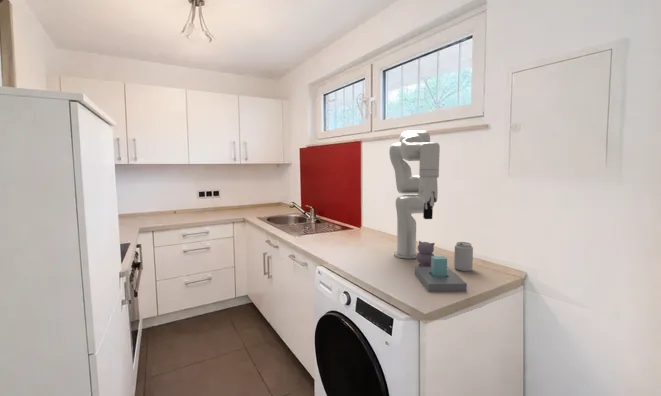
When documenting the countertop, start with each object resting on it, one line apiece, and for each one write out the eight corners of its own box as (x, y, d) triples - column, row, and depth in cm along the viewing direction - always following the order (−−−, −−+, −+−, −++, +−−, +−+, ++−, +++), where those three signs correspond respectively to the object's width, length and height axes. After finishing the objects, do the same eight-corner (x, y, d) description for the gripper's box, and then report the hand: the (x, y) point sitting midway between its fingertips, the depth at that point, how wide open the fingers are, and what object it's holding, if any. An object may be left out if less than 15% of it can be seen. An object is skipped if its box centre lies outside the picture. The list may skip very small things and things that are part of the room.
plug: (430, 280, 129) (431, 256, 128) (443, 280, 128) (443, 256, 127) (433, 283, 125) (434, 259, 124) (446, 283, 124) (447, 259, 123)
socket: (414, 273, 137) (414, 265, 136) (447, 273, 136) (447, 265, 136) (428, 291, 117) (428, 282, 116) (466, 291, 116) (466, 282, 116)
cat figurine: (412, 268, 144) (413, 242, 143) (420, 263, 150) (420, 239, 149) (430, 271, 139) (431, 245, 138) (438, 267, 145) (438, 241, 143)
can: (457, 265, 147) (457, 240, 145) (474, 268, 142) (475, 242, 141) (451, 269, 141) (452, 243, 140) (469, 273, 136) (470, 246, 135)
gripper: (414, 172, 134) (413, 215, 136) (425, 175, 119) (424, 222, 121) (432, 172, 134) (430, 215, 136) (445, 174, 119) (443, 222, 122)
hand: (427, 218), depth 129 cm, fingers closed
